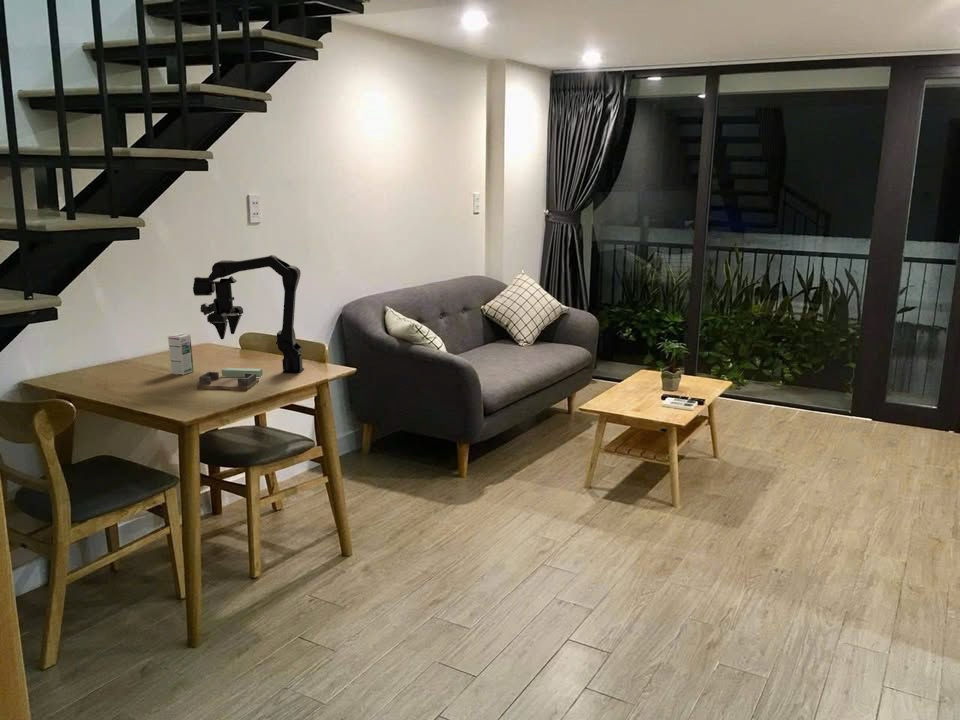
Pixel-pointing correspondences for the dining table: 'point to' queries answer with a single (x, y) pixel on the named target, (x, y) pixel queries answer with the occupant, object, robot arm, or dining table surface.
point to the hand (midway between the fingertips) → (227, 336)
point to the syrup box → (180, 353)
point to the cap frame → (226, 381)
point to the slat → (240, 372)
